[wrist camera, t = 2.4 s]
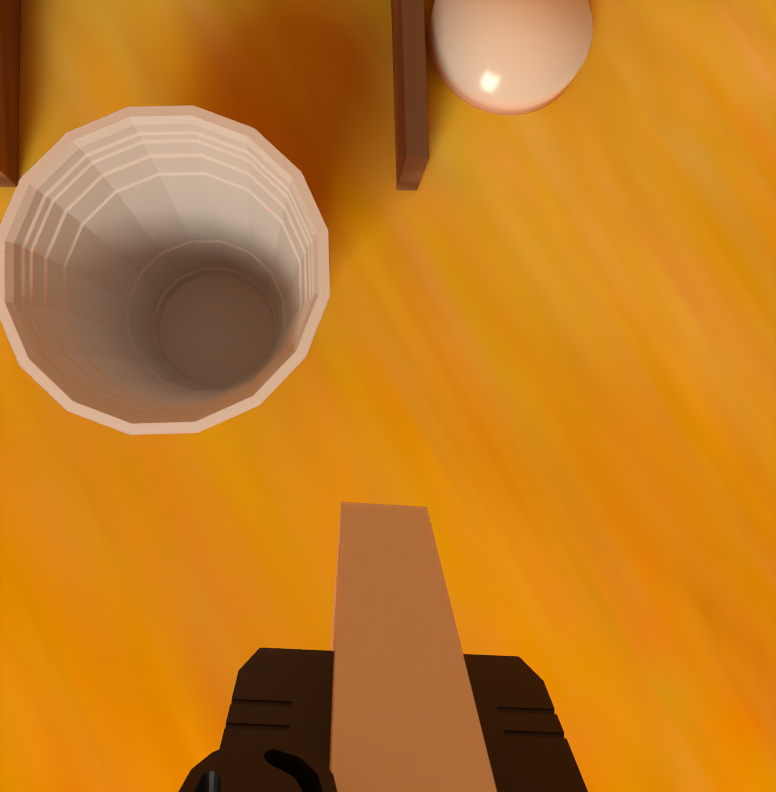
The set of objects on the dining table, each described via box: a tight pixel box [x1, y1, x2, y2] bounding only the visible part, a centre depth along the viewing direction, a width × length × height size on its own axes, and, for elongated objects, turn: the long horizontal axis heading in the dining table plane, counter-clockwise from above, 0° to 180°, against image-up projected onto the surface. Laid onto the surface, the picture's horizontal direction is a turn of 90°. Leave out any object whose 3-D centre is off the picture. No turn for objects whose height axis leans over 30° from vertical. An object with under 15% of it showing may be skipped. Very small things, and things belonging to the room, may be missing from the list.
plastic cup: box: [0, 105, 330, 435], centre depth 29 cm, size 11×11×12 cm
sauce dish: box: [428, 0, 593, 115], centre depth 37 cm, size 8×8×2 cm
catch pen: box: [0, 0, 429, 190], centre depth 34 cm, size 20×13×4 cm, turn 91°
